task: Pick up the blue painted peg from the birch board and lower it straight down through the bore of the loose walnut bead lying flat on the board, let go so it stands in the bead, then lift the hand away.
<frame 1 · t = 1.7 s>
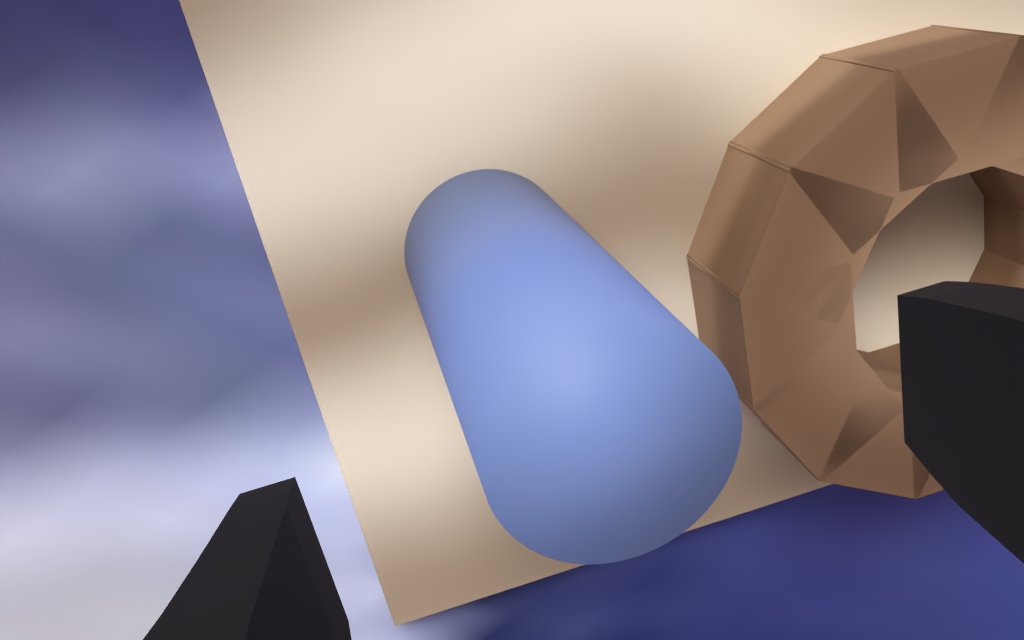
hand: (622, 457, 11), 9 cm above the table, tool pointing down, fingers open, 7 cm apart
board: (718, 221, 20), on the table
peg: (486, 250, 18), point 1 cm above the table, touching board
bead: (888, 250, 20), point 1 cm above the table, touching board
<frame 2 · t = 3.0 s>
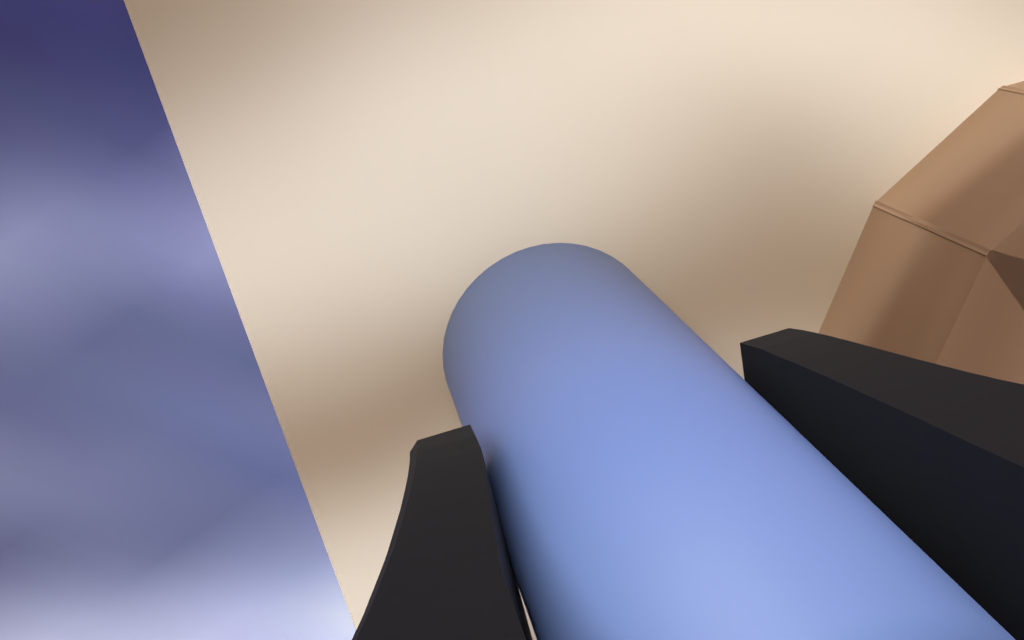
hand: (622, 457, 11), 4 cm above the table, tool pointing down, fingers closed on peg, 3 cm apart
board: (847, 301, 15), on the table
peg: (551, 348, 14), point 1 cm above the table, touching board, gripper
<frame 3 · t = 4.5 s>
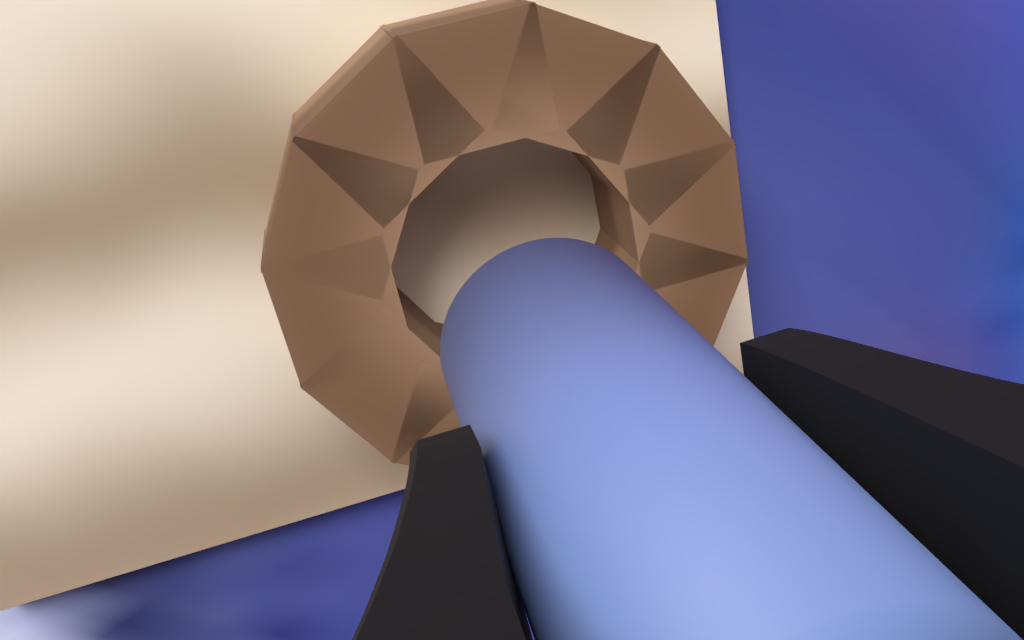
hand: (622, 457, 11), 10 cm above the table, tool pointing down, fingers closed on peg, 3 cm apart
board: (309, 197, 19), on the table
peg: (549, 343, 14), point 7 cm above the table, touching gripper
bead: (492, 229, 20), point 1 cm above the table, touching board
when the fingers open (4 cm above the table, at t = 6.4 s): peg stays where it is, resting on board.
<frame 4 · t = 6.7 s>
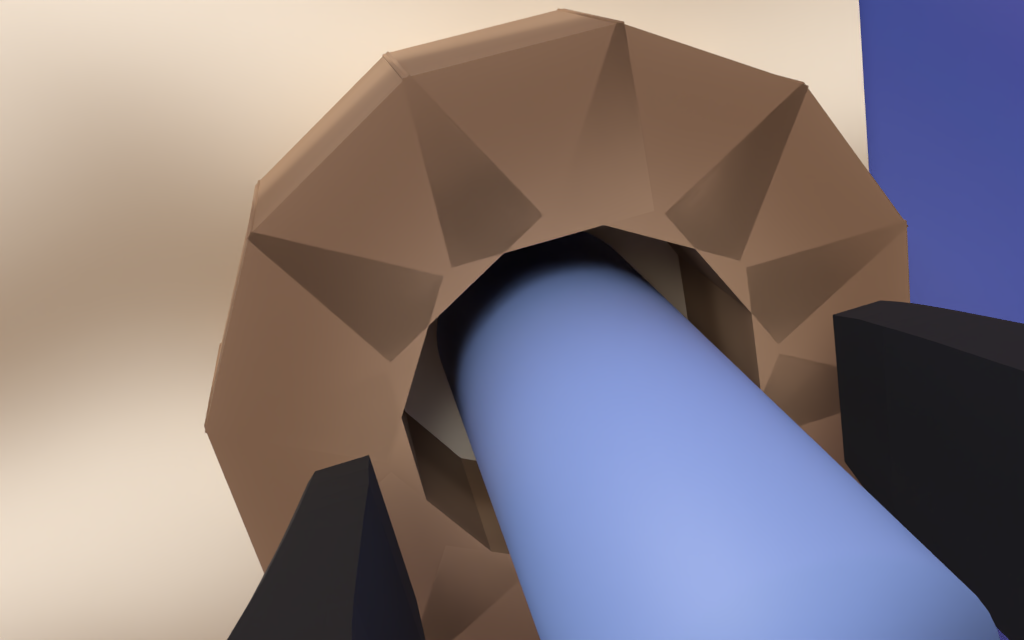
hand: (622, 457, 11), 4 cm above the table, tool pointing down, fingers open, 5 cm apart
board: (284, 293, 14), on the table
peg: (541, 328, 14), point 1 cm above the table, touching board
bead: (541, 332, 14), point 1 cm above the table, touching board
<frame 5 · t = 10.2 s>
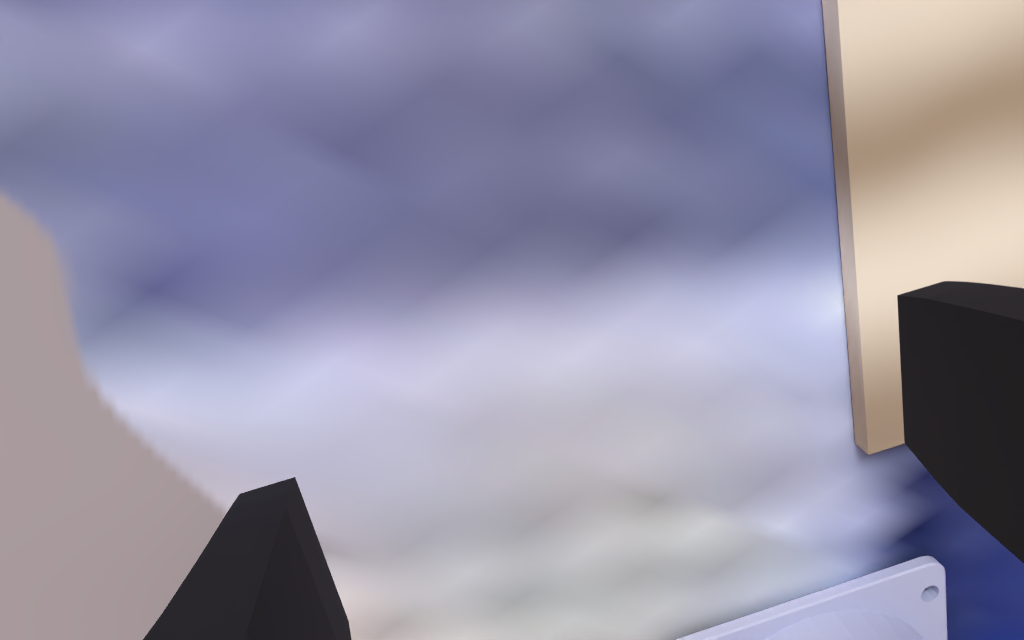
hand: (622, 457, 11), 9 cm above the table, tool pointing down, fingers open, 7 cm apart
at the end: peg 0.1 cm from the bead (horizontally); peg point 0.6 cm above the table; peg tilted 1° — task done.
